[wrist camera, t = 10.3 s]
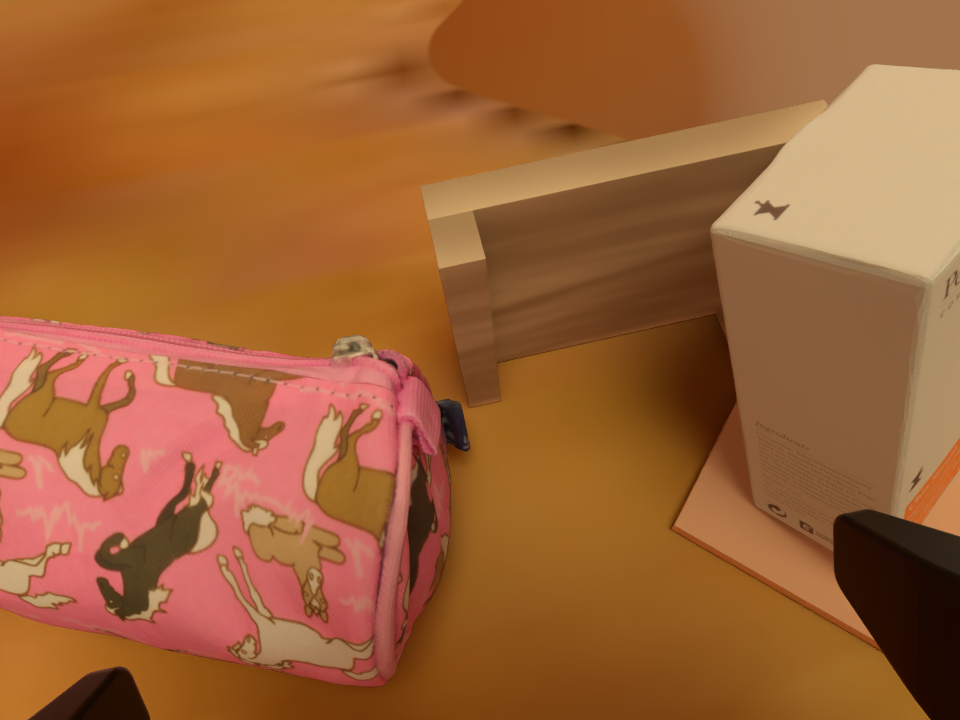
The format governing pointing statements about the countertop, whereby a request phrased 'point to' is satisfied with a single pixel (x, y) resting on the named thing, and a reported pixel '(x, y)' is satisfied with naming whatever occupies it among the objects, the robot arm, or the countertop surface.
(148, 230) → the countertop surface
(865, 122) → the skincare box
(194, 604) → the pencil case
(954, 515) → the tile
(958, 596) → the robot arm
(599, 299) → the shallow wooden tray
